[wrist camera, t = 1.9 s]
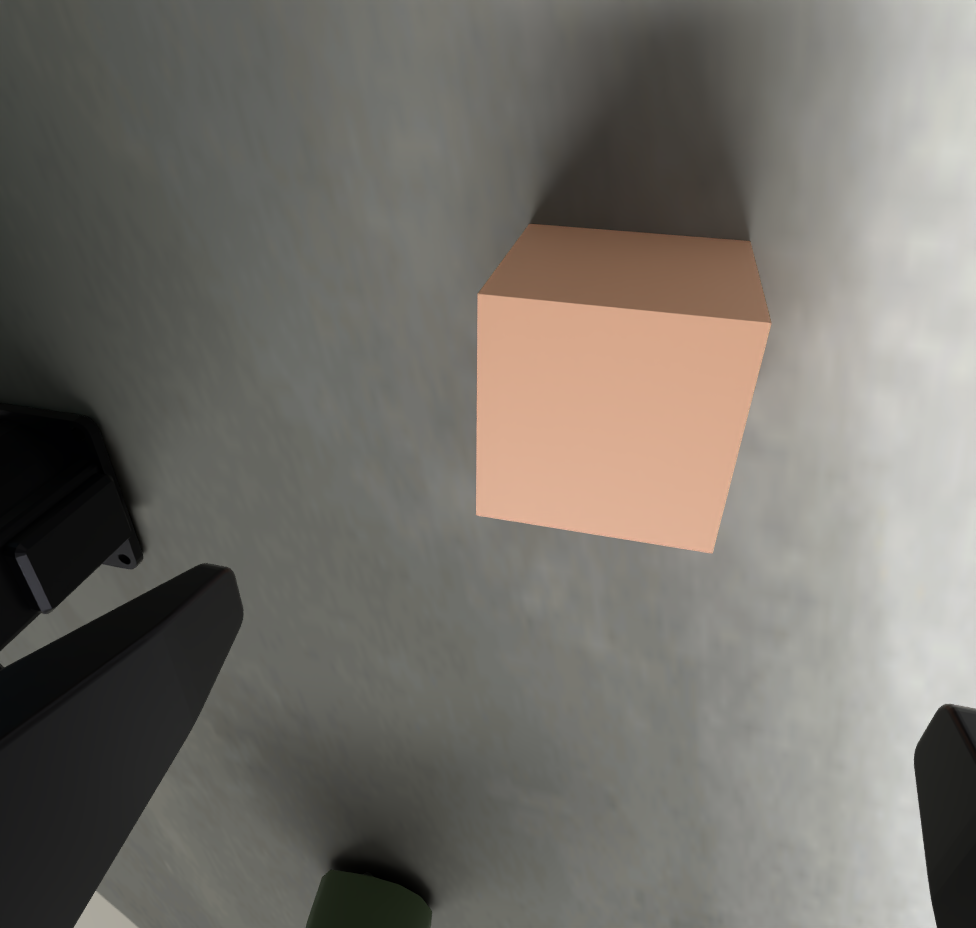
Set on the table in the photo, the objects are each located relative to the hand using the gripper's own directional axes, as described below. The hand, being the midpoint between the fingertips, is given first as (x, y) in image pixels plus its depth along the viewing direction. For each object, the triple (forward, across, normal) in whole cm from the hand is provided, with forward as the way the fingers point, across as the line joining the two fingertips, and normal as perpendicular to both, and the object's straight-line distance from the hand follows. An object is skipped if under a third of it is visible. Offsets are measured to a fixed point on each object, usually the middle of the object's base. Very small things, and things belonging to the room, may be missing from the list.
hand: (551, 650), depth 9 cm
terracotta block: (+10, 0, 0) cm, 11 cm away
